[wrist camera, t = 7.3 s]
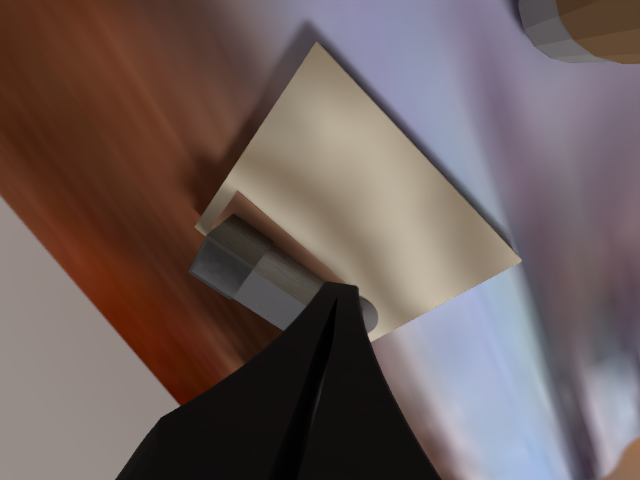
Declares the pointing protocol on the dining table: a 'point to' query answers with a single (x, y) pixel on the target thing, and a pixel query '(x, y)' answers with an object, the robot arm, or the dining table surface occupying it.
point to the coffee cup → (584, 29)
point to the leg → (254, 272)
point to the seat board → (357, 201)
